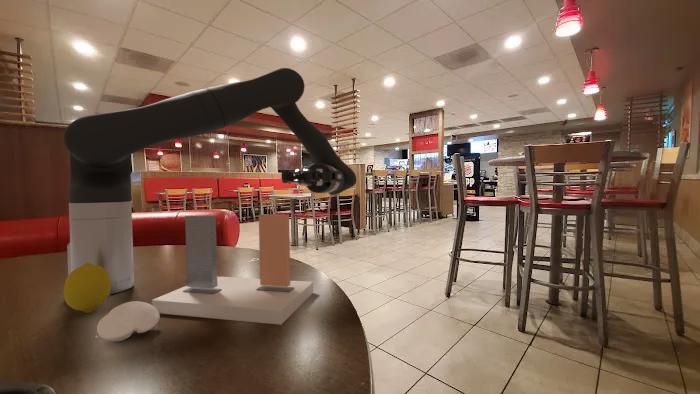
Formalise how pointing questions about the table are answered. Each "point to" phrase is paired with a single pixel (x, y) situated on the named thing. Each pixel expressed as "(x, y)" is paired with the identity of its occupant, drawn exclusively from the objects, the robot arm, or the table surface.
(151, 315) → the dumpling
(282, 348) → the table surface
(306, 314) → the table surface
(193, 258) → the grey paddle
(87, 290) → the lemon
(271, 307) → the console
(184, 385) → the table surface
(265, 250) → the terracotta paddle
